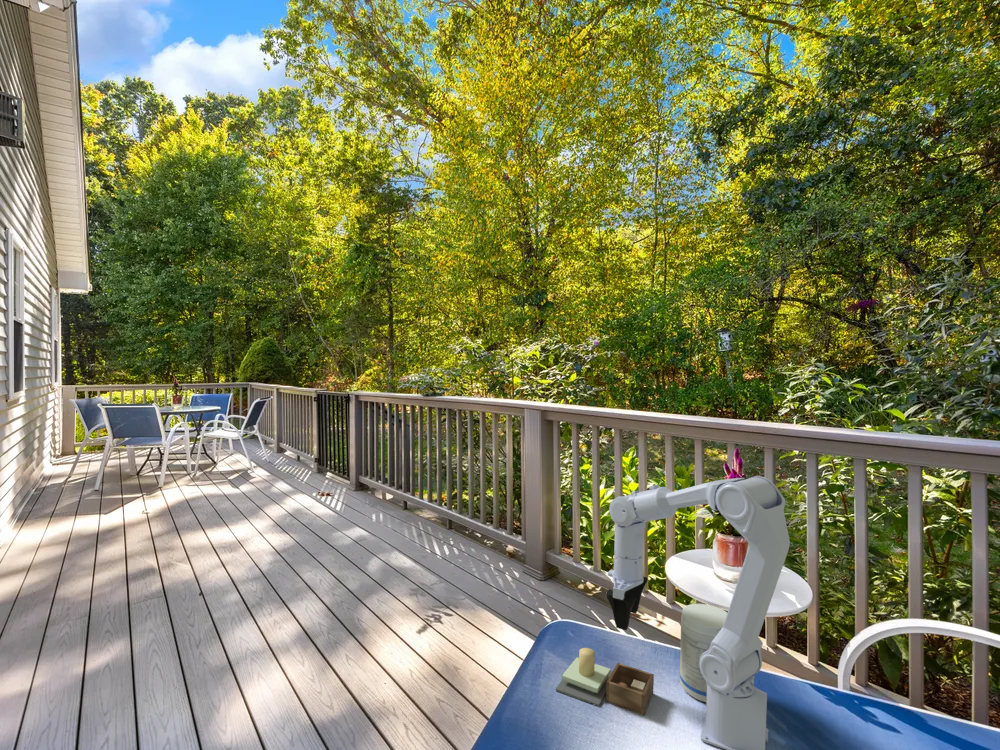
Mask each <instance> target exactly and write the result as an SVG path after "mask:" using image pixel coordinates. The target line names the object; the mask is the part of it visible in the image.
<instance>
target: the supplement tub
mask: <svg viewBox="0 0 1000 750" xmlns="http://www.w3.org/2000/svg"><path fill="white" fill-rule="evenodd" d="M727 613H728V611H725V610H724V609H722V608H719V607H717V606H714V605H712V604H706V603H705V604H704V603H691V604H688V605H685V606H684V607H683V608H682V611H681V616H680V619H681V620H680V645H679V646H680V652H679V656H680V657H679V660H680V661H679V682H680V683H679V684H680V685H681V687H682V688H683V690H684V691H685V693H687V694H688V695H690V696H691V697H692V698H694V699H696V700H697V701H698V700H699V701H701V702H704V703H706V702H707V684H706V680H705V679H704V677H703V675H702V673H701V670H700V666H699V661H700V657H701V655H702V654H703V653H704V652H706V651H707V650H708V649H709V648H710V646H711V643H712V641H713V639H714V638H715V637H716V635H717V634H718V633H719V632H720V630H721V629H722V628H723V625H724V622H725V619H726V616H727Z"/></svg>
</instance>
